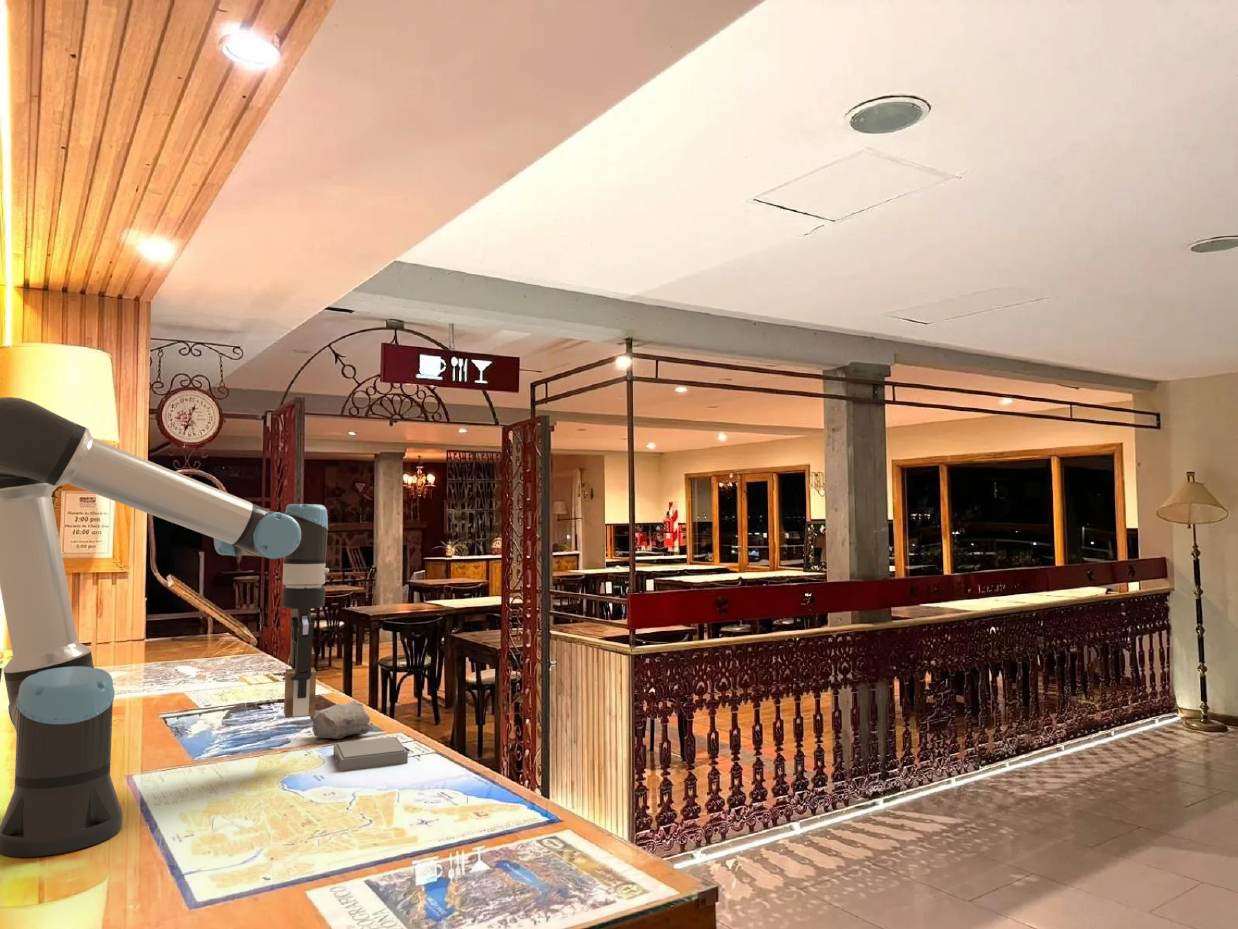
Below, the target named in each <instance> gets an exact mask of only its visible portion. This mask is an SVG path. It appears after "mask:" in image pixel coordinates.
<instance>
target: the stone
mask: <svg viewBox="0 0 1238 929" xmlns="http://www.w3.org/2000/svg"><path fill="white" fill-rule="evenodd" d="M309 718H310V721H312V725H313V726H312V732H313V735H314V736H315V737H316V738H320V739H333V740H336V739H339V740H341V738H342V739H344V738H346V737H347V736H350V735H355V734H356V735H365V734H366V733H368V732H370V731H373V729H374V727H373V725H372V724H371V718H370V716H369V712H368V711H367V710H365V709H364V705H363V703H362V702H361V703H360V702H358V701H356V700H353V701H350V702H348V703H342V704H341V703H337V704H334V705H332V706H330V707H327V708H324V709H319V710H316V709H315V716H309ZM343 737H344V738H343Z"/></svg>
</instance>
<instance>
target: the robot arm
mask: <svg viewBox="0 0 1238 929" xmlns="http://www.w3.org/2000/svg"><path fill="white" fill-rule="evenodd" d="M63 485H70V486H73V487H76V488H78V489H81V490H84V491H86V492H90V493H92V494H94V495H97V496H100V497H102V498H105V499H109V500H111V501H113V502H115V503H116V502H117V503H119V504H121V505H125V506H127V507H130V508H133V509H135V510H138V511H141V512H143V513H145V514H148V515H150V516H151V515H152V516H155V517H157V518H159V519H163V520H165V521H167V522H170V523H172V524H175V525H179V526H181V527H184V528H185V529H189V530H192V531H194V532H197V533H200V534H203V535H205V536H208V537H210V538H213V545H214V549H215V551H216V553H217V554H219V555H221V556H232V557H236V556H250V557H251V556H252V557H263V558H267V559H270V560H276V559H281V558H283V565H282V567H283V568H282V585H284V586H285V587H284V588H283V589H282V595H281V596H282V598H281V599H282V601H281V606H282V607H283V608H285V609H289V610H290V609H291V610H294V609H295V616H292V617H290V625H291V640H292V648H291V650H292V651H291V664H290V667H291V668H290V669H295V676H294V677H291V681H293V680H294V690H293V717H294V716H307V715H309V690H310V677H311V675H312V673H311V668H312V657H313V656H312V647H313V640H314V627H315V625H316V618H315V617H314V616H312V612H311V611H312V609H319V608H323V607H325V605H326V604H325V603H326V588H325V587H324V586H322V585H324V584H325V583H326V575H325V574H329V572H330V568H328V567H326V563H327V547H328V544H327V543H328V531H329V527H328V526H329V521H328V520H329V519H328V517H329V516H328V509H327V507H325V505H323V504H316V503H314V504H311V503H310V504H309V503H303V504H302V503H290V504H287V505H286V507H285V511H284V512H279V511H278V512H277V511H273V510H272V511H271V510H269V509H268V508H265V507H263V506H260V505H258V504H255V503H252V502H251V501H247V500H246V499H243V498H241V497H238V496H237V495H234V494H231V493H229V492H226V491H224V490H221V489H218V488H216V487H213V486H211V485H208V484H206V483H203V482H202V481H199V480H197V479H195V478H192V477H189V476H186V475H184V474H181V473H179V472H177V471H174V470H172V469H169V468H167V467H164V466H163V465H160V464H157V463H155V462H153V461H150V460H147V459H145V458H143V457H140V456H138V455H135V454H133V453H130V452H128V451H125V450H123V449H120V448H118V447H116V446H114V445H111V444H108V443H106V442H104V441H101V440H98V439H96V438H94V437H93V436H92V433H91V432H90V429H89V428H87V427H86V426H83V425H80V424H78V423H76V422H74V421H71V420H69V419H67V418H66V417H65V418H64V417H63V416H61V415H59V414H57V413H54V412H53V411H51V410H49V409H47V408H45V407H43V406H41V405H39V404H38V403H35V402H34V401H31V400H27V399H23V398H21V397H14V396H13V397H12V396H7V397H5V396H4V397H0V594H1V597H2V604H3V609H4V615H5V620H6V626H7V631H8V636H9V640H10V641H9V642H10V646H11V647H10V649H11V652H12V656H11V659H10V660H9V661H8V662H7V664H6V665H5V666H4V667H3V668H2V669H3V670H2V672H3V676H4V682H5V688H6V692H7V699H8V714H9V719H10V721H11V723H12V725H13V727H14V729H15V732H16V737H15V738H16V741H15V742H16V745H15V747H16V748H15V771H14V772H15V773H14V775H15V776H14V787H13V789H14V790H13V793H12V794H11V795H12V796H11V797H10V801H9V803H8V804H7V805H8V806H7V807H6V810H5V813H4V815H3V817H2V820H1V822H0V854H2V855H3V856H8V857H14V858H33V857H35V858H36V857H44V856H53V855H59V854H64V853H69V852H73V851H78V850H81V849H85V848H88V847H91V846H94V845H97V844H100V843H102V842H105V841H106V840H109V839H111V838H113V837H114V836H116V835H117V834H118V833H119V832H120V831H121V830H122V828H123V809H122V807H121V804H120V800H119V797H118V795H117V792H116V788H115V786H114V783H113V780H112V777H111V776H112V775H111V763H112V762H111V761H112V734H113V733H112V731H113V726H112V725H113V703H114V698H115V694H116V693H115V688H114V681H113V680H114V679H113V677H112V675H111V674H110V673H109V672H108V671H106V670H105V669H101V668H98V667H97V668H95V665H94V660H93V655H92V650H91V648H90V647H88V646H86V645H85V644H83V643H81V642H80V640H78V637H77V630H76V624H75V620H74V619H75V618H74V613H73V609H72V607H73V606H72V603H71V597H70V592H69V591H70V590H69V586H68V581H67V580H68V579H67V575H66V570H65V564H64V558H63V552H62V548H61V543H60V542H61V541H60V537H59V531H58V525H57V521H56V515H55V514H56V513H55V509H54V504H53V497H52V495H53V492H54V491H56V489H58V487H61V486H63ZM307 717H308V716H307Z"/></svg>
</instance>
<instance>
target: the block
mask: <svg viewBox="0 0 1238 929" xmlns="http://www.w3.org/2000/svg"><path fill="white" fill-rule="evenodd" d="M284 673H285V674H284V676H285V677H284V678H285V679H284V699H283V700H284V704H283V705H284V706H283V714H284V717H285V719H292V718H307V717H310V716H315V710H316V689H317V688H316V685H317V683H316V682H317V671H316V669H315V667H311V673H312V675H311V677H310V690H309V715H307V716H294V717H293V690H294V680H293V681H291V677H294V676H295V669H292V668H286V669H285V672H284Z"/></svg>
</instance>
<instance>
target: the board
mask: <svg viewBox="0 0 1238 929" xmlns="http://www.w3.org/2000/svg"><path fill="white" fill-rule="evenodd" d="M408 754H409V753H408V751H407V749H406V747H405V746H404V745H403V744H402V742H401V741H400V740H399V739H398V737H397V736H390V737H380V738H370V739H362V740H353V741H352V740H350V741H344V742H343V741H342V742H337V743H333V756H334V758H336V759H335V761H336V760H337V761H336V763H337V762H338V763H337V765H338V764H339V766H338V768H339V767H340V768H339V770H340V769H341V770H346V771H352V770H353V769H354V770H360V768H362V769H368V768H367V767H370V768H378V767H385V766H393V765H401V764H408V763H409V762H408V760H409V759H408V758H409V755H408ZM341 770H340V771H341ZM354 770H353V771H354Z"/></svg>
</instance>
